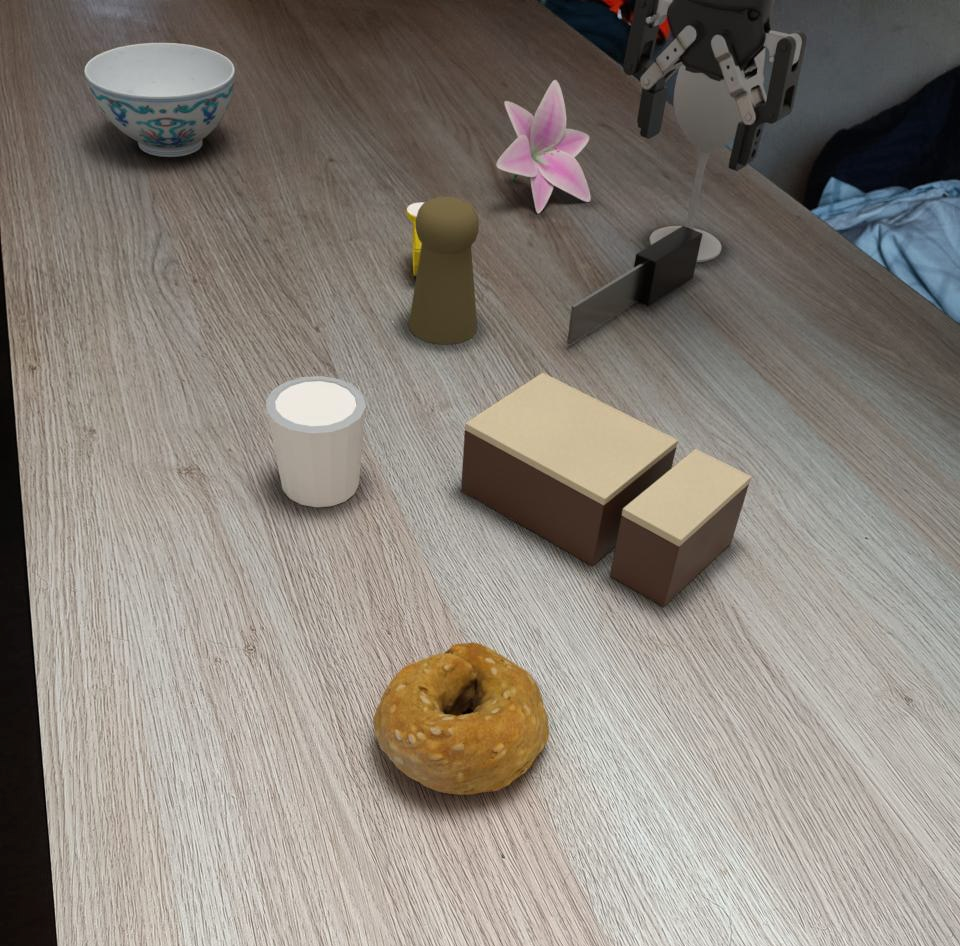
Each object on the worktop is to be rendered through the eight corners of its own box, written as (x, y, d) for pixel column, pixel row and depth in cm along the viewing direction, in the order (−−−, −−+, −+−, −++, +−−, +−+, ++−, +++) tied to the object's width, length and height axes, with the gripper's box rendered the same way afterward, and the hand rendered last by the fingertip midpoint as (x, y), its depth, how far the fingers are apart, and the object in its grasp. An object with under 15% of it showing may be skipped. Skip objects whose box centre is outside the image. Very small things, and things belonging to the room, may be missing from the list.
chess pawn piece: (400, 336, 95) (401, 213, 87) (419, 302, 99) (422, 182, 91) (467, 349, 95) (475, 226, 87) (484, 314, 99) (492, 194, 91)
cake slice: (678, 515, 81) (695, 448, 77) (731, 543, 79) (751, 476, 75) (609, 576, 76) (622, 508, 72) (663, 607, 74) (681, 540, 70)
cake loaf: (534, 438, 86) (542, 372, 82) (662, 506, 81) (678, 439, 77) (460, 490, 81) (464, 422, 77) (592, 566, 76) (605, 498, 72)
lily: (472, 221, 113) (515, 154, 105) (462, 132, 117) (502, 61, 109) (572, 247, 119) (621, 185, 111) (559, 161, 123) (604, 96, 115)
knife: (674, 268, 107) (683, 225, 104) (693, 276, 106) (703, 233, 103) (557, 343, 96) (563, 297, 93) (577, 352, 95) (584, 306, 92)
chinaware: (215, 182, 114) (206, 104, 108) (75, 163, 114) (59, 85, 109) (258, 126, 124) (252, 52, 118) (130, 109, 125) (118, 35, 119)
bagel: (585, 730, 66) (596, 677, 63) (462, 841, 60) (466, 789, 57) (463, 644, 70) (467, 590, 67) (337, 740, 64) (334, 687, 61)
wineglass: (683, 220, 114) (728, -5, 99) (738, 250, 110) (794, 21, 95) (631, 239, 111) (671, 8, 95) (687, 270, 107) (737, 35, 92)
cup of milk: (253, 479, 81) (244, 398, 76) (327, 443, 84) (323, 363, 79) (312, 525, 78) (307, 444, 72) (386, 486, 81) (386, 406, 76)
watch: (404, 254, 106) (405, 192, 101) (433, 254, 106) (435, 193, 102) (406, 285, 101) (407, 223, 97) (436, 286, 102) (438, 224, 97)
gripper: (851, -62, 79) (790, 165, 90) (682, -106, 84) (645, 113, 96) (802, -42, 74) (745, 193, 86) (628, -90, 80) (596, 137, 92)
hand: (692, 151), depth 91 cm, fingers open, 8 cm apart
